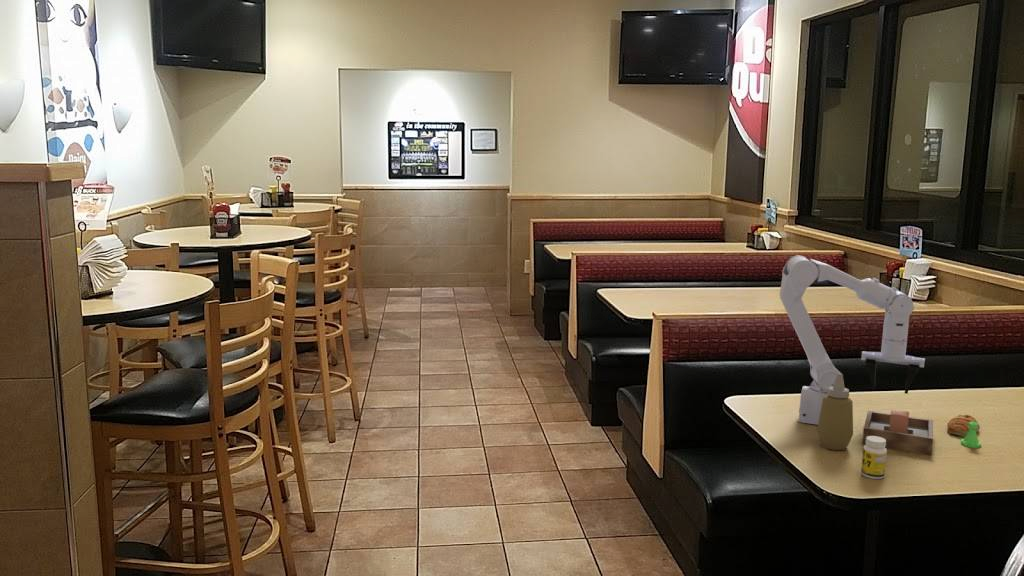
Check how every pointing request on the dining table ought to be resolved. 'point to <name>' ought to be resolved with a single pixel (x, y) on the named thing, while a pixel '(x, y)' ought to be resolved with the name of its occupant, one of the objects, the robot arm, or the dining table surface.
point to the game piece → (971, 436)
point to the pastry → (961, 425)
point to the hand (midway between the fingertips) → (889, 390)
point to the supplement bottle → (874, 457)
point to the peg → (899, 421)
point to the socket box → (913, 440)
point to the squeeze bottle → (836, 417)
